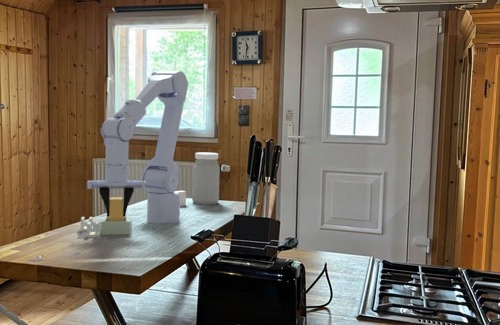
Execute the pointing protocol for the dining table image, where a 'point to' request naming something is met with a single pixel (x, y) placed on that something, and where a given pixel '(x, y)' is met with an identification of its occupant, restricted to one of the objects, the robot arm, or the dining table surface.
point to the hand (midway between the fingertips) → (116, 216)
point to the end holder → (115, 226)
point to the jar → (206, 179)
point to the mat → (83, 234)
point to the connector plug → (116, 209)
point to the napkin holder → (182, 197)
